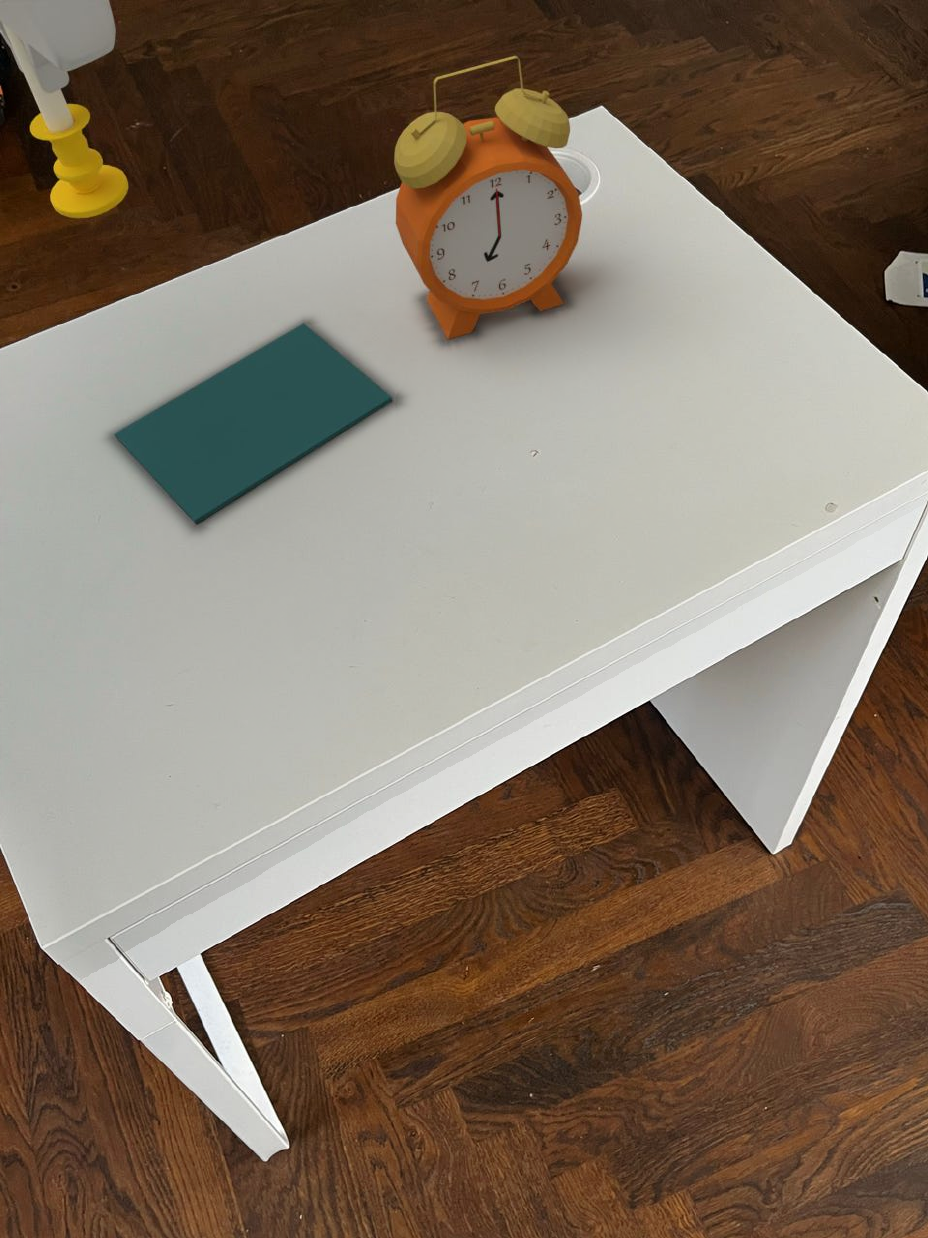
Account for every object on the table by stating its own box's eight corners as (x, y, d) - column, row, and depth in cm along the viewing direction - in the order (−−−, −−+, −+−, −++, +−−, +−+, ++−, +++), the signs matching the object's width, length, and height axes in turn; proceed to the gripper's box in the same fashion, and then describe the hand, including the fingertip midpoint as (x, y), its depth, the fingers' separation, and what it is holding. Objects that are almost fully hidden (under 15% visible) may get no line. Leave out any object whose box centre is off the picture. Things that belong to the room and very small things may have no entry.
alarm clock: (431, 349, 92) (398, 117, 75) (407, 303, 95) (371, 71, 79) (585, 302, 93) (585, 65, 77) (556, 258, 97) (551, 22, 80)
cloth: (195, 524, 83) (194, 520, 83) (115, 437, 89) (113, 433, 89) (392, 400, 89) (391, 396, 88) (304, 326, 95) (303, 322, 94)
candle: (37, 203, 78) (-76, -35, 65) (94, 162, 80) (-4, -76, 67) (86, 228, 75) (-21, -14, 63) (144, 185, 77) (52, -57, 65)
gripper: (-182, -203, 64) (-67, 39, 76) (-29, -93, 54) (77, 167, 66) (-78, -240, 66) (18, 2, 78) (87, -140, 56) (171, 121, 68)
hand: (46, 79), depth 72 cm, fingers closed on candle
